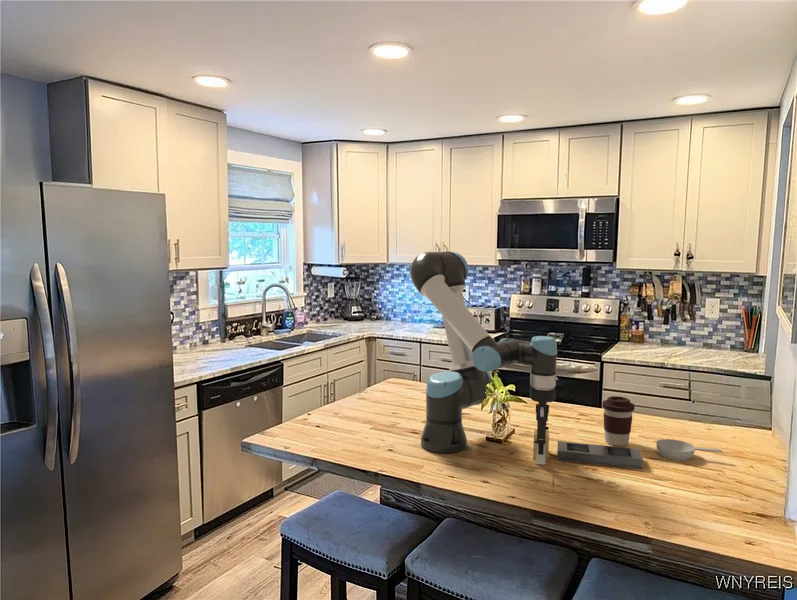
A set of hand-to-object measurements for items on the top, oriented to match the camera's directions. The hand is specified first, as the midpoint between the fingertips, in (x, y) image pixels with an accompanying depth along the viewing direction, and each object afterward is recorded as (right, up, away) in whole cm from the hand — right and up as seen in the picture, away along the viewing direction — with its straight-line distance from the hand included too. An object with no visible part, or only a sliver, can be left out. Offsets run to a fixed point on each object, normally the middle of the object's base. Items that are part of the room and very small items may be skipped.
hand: (541, 456), depth 171 cm
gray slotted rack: (+17, 0, -1) cm, 17 cm away
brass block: (0, 0, 0) cm, 0 cm away
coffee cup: (+29, +1, +13) cm, 31 cm away
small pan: (+46, -1, +1) cm, 46 cm away
